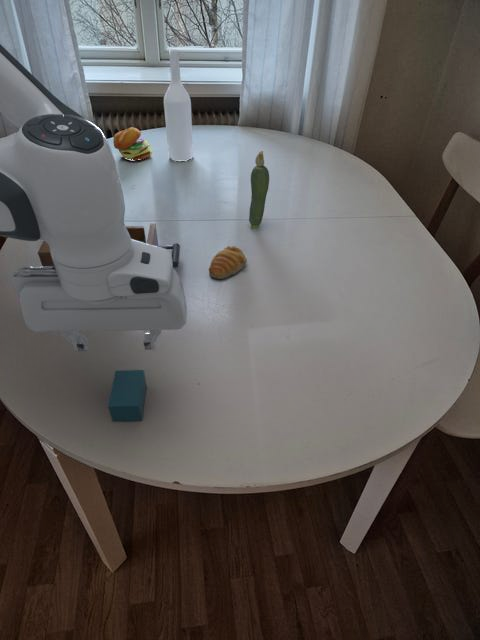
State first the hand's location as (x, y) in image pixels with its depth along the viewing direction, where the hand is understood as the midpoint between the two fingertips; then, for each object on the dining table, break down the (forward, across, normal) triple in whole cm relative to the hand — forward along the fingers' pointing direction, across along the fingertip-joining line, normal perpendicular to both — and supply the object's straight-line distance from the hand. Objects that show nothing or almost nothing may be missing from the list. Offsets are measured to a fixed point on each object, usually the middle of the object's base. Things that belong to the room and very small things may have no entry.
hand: (116, 347), depth 60 cm
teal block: (+13, 0, 0) cm, 13 cm away
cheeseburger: (+13, -11, +97) cm, 99 cm away
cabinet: (+13, -13, +35) cm, 40 cm away
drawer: (+12, -2, +35) cm, 37 cm away
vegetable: (+13, +25, +53) cm, 60 cm away
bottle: (+13, +4, +97) cm, 98 cm away
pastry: (+13, +17, +36) cm, 42 cm away
